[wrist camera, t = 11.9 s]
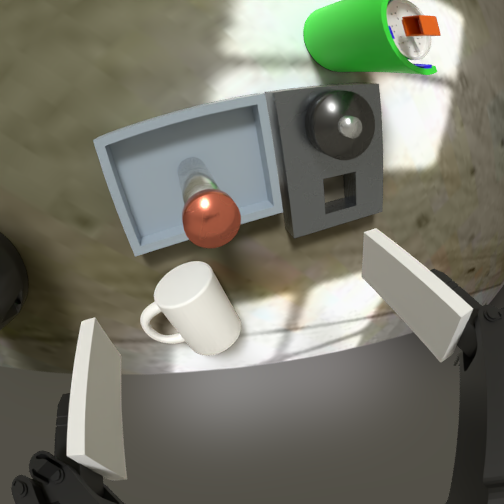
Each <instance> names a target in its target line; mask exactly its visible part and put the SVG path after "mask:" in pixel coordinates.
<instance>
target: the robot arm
mask: <svg viewBox="0 0 504 504" xmlns="http://www.w3.org/2000/svg"><path fill="white" fill-rule="evenodd" d="M362 278H363V279H364V280H365V281H366V282H367V283H368V284H369V285H370V286H371V287H372V288H373V289H374V290H375V291H376V292H377V293H378V294H379V295H380V296H381V297H382V298H383V299H384V300H385V301H386V302H387V304H388V305H389V306H390V307H391V308H392V309H393V310H394V311H395V312H396V313H397V314H398V315H399V316H400V317H401V319H402V320H403V321H404V322H405V323H406V324H407V325H408V326H409V327H410V328H411V329H412V331H413V332H414V333H415V334H416V335H417V336H418V337H419V338H420V339H421V341H422V342H423V343H424V344H425V345H426V346H427V347H428V348H429V350H430V351H431V352H432V353H433V354H434V355H435V356H436V358H437V359H438V360H439V361H440V362H442V361H444V360H445V359H447V358H448V357H449V356H451V355H452V354H453V352H454V350H455V348H456V346H457V345H458V347H459V348H460V349H461V350H460V352H459V353H458V356H457V357H456V359H455V361H454V366H455V365H456V364H457V362H458V361H459V362H460V363H459V366H460V407H459V425H458V438H457V448H456V457H455V463H454V471H453V477H452V482H451V488H450V493H449V497H448V500H447V502H446V504H504V308H501V309H498V308H497V307H495V306H493V305H484V306H482V305H480V304H479V303H478V302H477V301H476V300H475V299H474V298H472V297H471V296H470V295H469V294H468V293H467V292H466V291H465V290H463V289H462V288H461V287H460V286H458V284H456V283H455V282H454V281H452V279H450V278H449V277H448V276H447V275H446V274H444V273H443V272H440V271H438V270H436V269H432V270H428V269H427V268H426V267H425V266H424V265H422V264H421V263H420V262H419V261H418V260H416V259H415V258H414V257H413V256H411V255H410V254H409V253H408V252H406V251H405V250H404V249H402V248H401V247H400V246H399V245H397V244H396V243H395V242H393V241H392V240H391V239H390V238H388V237H387V236H386V235H384V234H383V233H382V232H380V231H379V230H378V229H376V228H375V229H372V230H369V231H366V232H364V241H363V263H362ZM27 293H28V277H27V272H26V269H25V266H24V263H23V261H22V259H21V257H20V255H19V253H18V252H17V250H16V249H15V247H14V246H13V245H12V243H11V242H10V241H9V240H8V239H7V238H6V237H5V236H4V235H3V234H1V233H0V330H1V329H2V328H3V327H4V326H5V325H6V324H8V323H9V322H10V321H11V320H12V319H13V318H14V317H15V316H16V315H17V314H18V313H19V311H20V310H21V308H22V306H23V304H24V302H25V299H26V297H27ZM57 417H58V418H57V422H56V425H57V427H56V433H55V452H54V453H55V455H54V456H53V455H52V454H50V453H49V452H46V451H39V452H37V453H35V454H34V455H33V457H32V458H31V460H30V464H29V472H30V474H31V477H32V478H33V479H30V478H28V477H26V476H23V475H19V476H17V477H16V478H15V479H14V480H13V482H12V488H11V489H12V495H13V498H14V501H15V504H124V503H123V502H122V501H121V500H120V499H119V498H118V497H117V496H116V495H115V494H114V493H113V492H112V491H111V490H110V489H109V488H108V487H107V486H106V485H105V484H103V477H105V478H106V479H108V480H110V481H114V480H126V479H127V473H126V464H125V454H124V442H123V427H122V406H121V355H120V353H119V352H118V351H117V349H116V348H115V346H114V345H113V343H112V342H111V341H110V339H109V338H108V336H107V335H106V333H105V332H104V330H103V329H102V327H101V326H100V324H99V323H98V321H97V320H96V318H91V319H88V320H84V321H81V326H80V332H79V337H78V343H77V348H76V354H75V361H74V368H73V375H72V383H71V393H68V394H63V395H62V397H61V400H60V402H59V404H58V410H57Z"/></svg>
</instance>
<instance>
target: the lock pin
mask: <svg viewBox="0 0 504 504" xmlns="http://www.w3.org/2000/svg"><path fill="white" fill-rule="evenodd" d="M178 177H179V182H180V187H181V192H182V196H183V201H184V208H183V211H182V222H183V227H184V231H185V234H186V236H187V237H188V238H189V240H190V241H191V242H193V243H194V244H196V245H197V246H200V247H204V248H216V247H220V246H223V245H225V244H226V243H228V242H229V241H231V240H232V239H233V238H234V237H235V235H236V234H237V232H238V230H239V228H240V224H241V214H240V211H239V208H238V207H237V205H236V204H235V202H234V201H233V199H232V198H231V197H230V196H229V195H228V194H227V193H225V192H223V191H221V190H220V188H219V187H218V185H217V184H216V182H215V180H214V179H213V177H212V175H211V174H210V172H209V170H208V169H207V167H206V166H205V164H204V162H203V161H202V160H200V159H199V158H195V157H190V158H186V159H185V160H183V161H182V162H181V163H180V165H179V167H178Z"/></svg>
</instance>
